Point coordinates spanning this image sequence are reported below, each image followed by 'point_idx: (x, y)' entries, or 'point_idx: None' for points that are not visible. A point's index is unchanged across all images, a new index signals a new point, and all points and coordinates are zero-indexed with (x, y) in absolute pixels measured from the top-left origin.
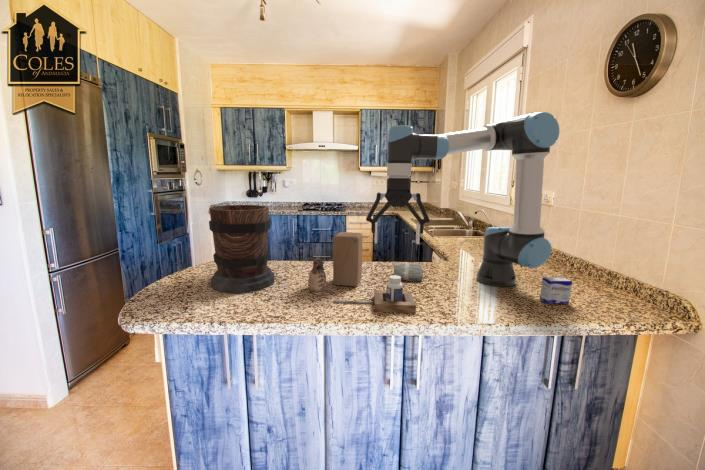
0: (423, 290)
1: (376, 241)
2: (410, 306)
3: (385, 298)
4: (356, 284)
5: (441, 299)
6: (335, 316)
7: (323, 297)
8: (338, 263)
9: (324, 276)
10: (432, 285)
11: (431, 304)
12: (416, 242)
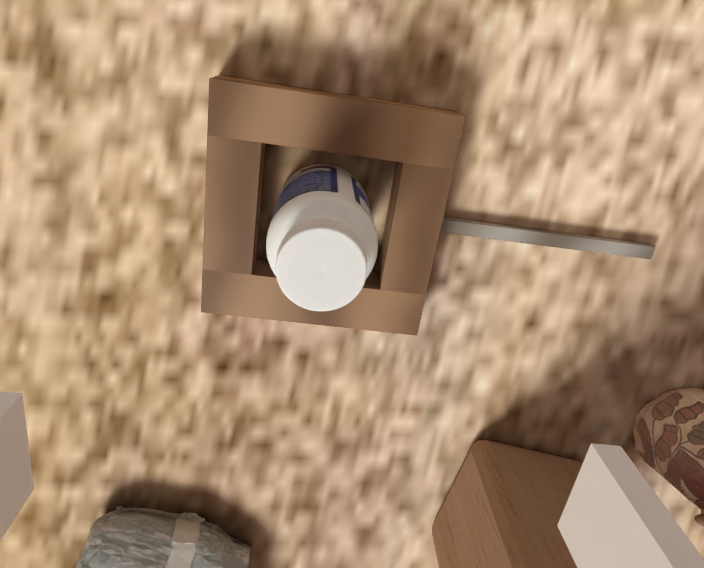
0: (116, 389)
1: (613, 464)
2: (246, 83)
3: None
4: (481, 445)
5: (28, 264)
6: (692, 55)
7: (681, 314)
8: None
9: (693, 459)
10: (53, 453)
11: (100, 195)
12: (17, 447)
